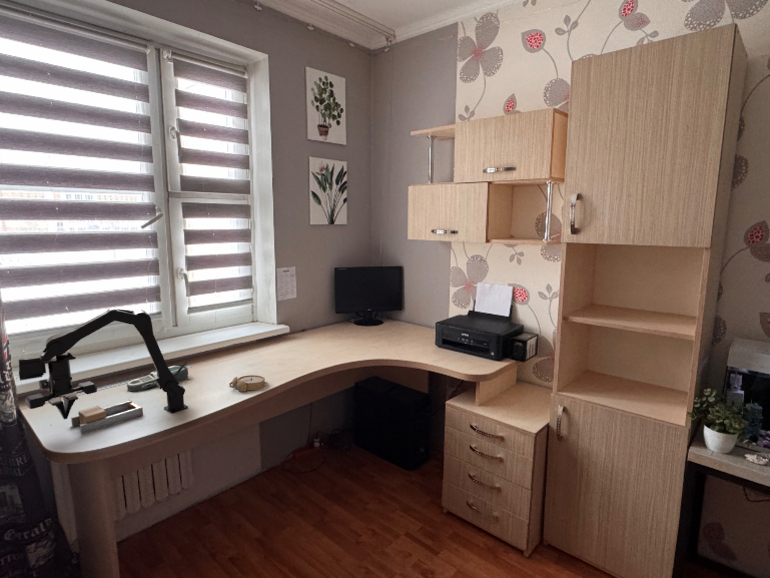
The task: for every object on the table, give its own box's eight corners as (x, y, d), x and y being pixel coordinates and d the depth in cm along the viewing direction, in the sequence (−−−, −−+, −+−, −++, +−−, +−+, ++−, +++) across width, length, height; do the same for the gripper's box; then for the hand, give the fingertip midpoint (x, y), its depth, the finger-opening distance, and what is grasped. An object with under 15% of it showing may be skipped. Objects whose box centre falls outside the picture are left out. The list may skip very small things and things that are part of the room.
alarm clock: (270, 380, 194) (236, 382, 184) (268, 392, 194) (234, 394, 184) (258, 373, 202) (225, 375, 193) (257, 384, 202) (224, 386, 193)
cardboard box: (107, 424, 158) (105, 410, 158) (87, 430, 154) (85, 416, 153) (99, 418, 163) (98, 405, 162) (79, 424, 158) (78, 411, 157)
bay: (143, 415, 166) (142, 407, 166) (82, 434, 151) (81, 425, 151) (131, 407, 173) (130, 400, 172) (71, 425, 158) (71, 417, 157)
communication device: (122, 387, 194) (120, 368, 193) (179, 373, 211) (177, 355, 210) (132, 395, 186) (130, 374, 184) (190, 379, 203) (188, 360, 201)
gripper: (83, 361, 161) (88, 403, 164) (17, 376, 147) (23, 421, 149) (95, 368, 154) (100, 412, 157) (27, 384, 140) (33, 431, 142)
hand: (65, 418), depth 151 cm, fingers closed
